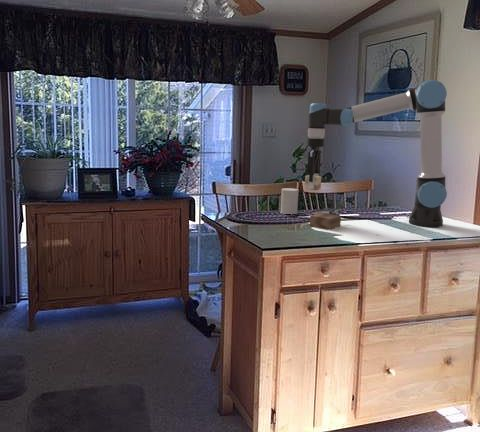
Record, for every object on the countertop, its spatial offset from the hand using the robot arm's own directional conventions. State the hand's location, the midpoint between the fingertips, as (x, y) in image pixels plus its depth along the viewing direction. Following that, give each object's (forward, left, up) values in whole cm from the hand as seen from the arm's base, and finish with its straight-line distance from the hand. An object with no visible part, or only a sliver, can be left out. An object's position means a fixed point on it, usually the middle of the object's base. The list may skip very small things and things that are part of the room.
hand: (312, 188), depth 249 cm
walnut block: (-10, +12, -15) cm, 22 cm away
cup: (+13, -7, -15) cm, 21 cm away
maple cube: (0, 0, 0) cm, 0 cm away
